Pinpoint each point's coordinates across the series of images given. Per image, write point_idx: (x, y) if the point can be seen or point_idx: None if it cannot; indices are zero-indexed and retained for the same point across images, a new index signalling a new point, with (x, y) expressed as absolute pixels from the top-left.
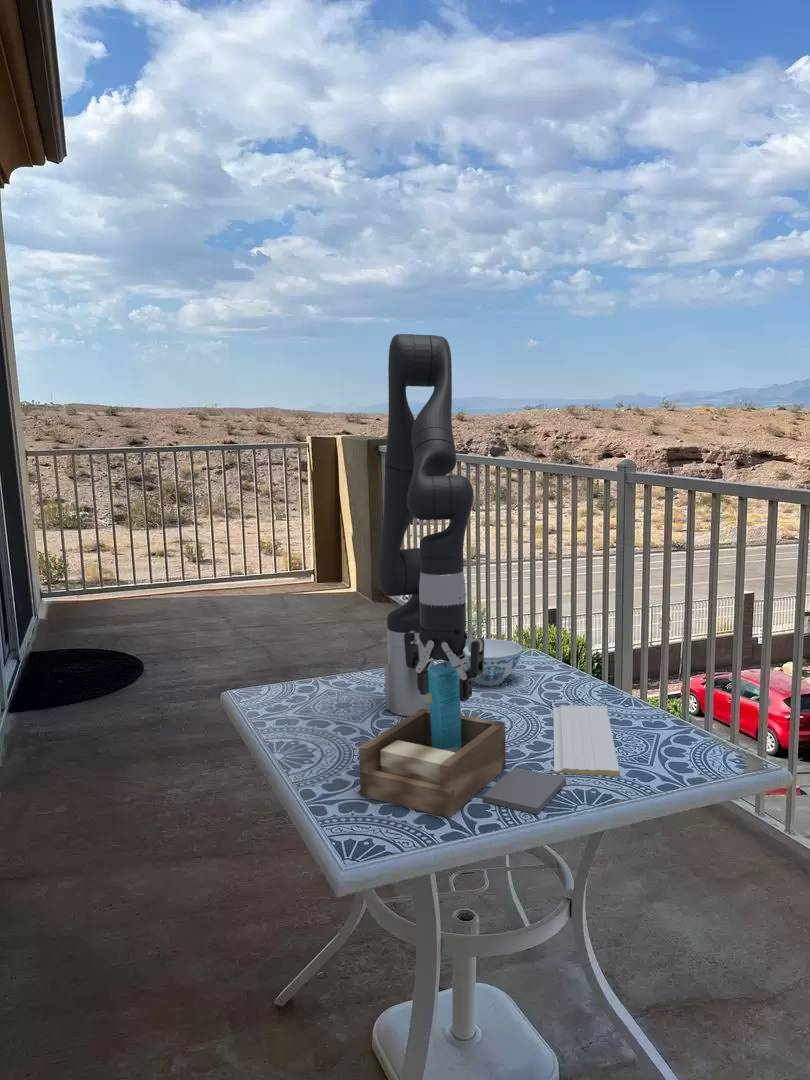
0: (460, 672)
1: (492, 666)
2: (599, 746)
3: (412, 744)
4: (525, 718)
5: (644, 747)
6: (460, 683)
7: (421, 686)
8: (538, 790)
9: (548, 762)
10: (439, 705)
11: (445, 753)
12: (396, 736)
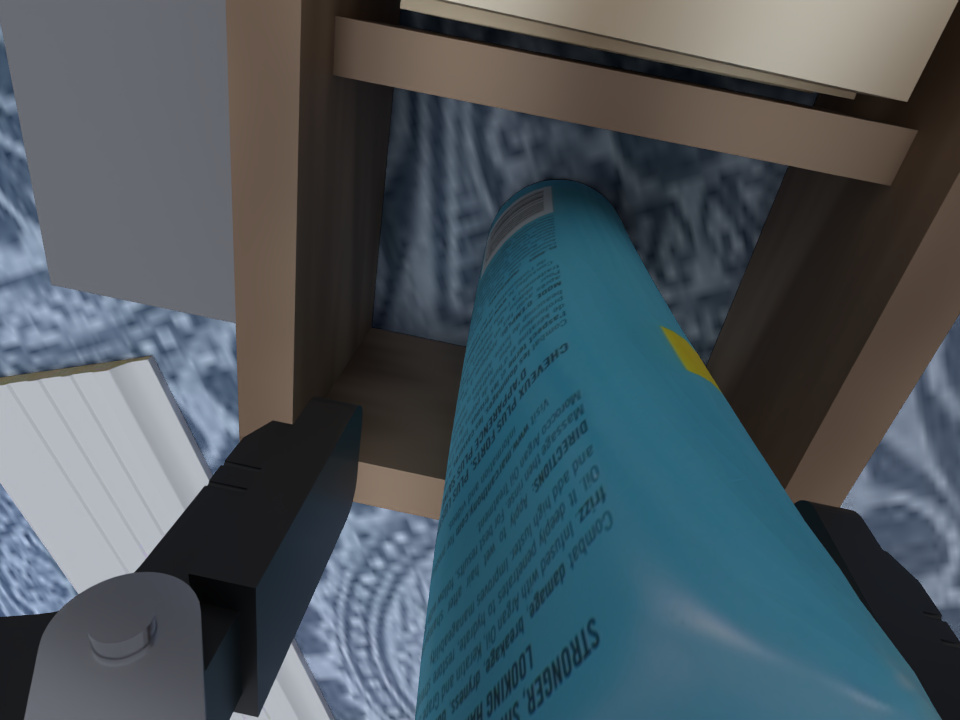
0: (140, 705)
1: None
2: (94, 553)
3: (759, 40)
4: None
5: (10, 583)
6: (260, 540)
7: (875, 571)
8: (79, 126)
9: (211, 435)
10: (574, 325)
11: None
12: (920, 181)
